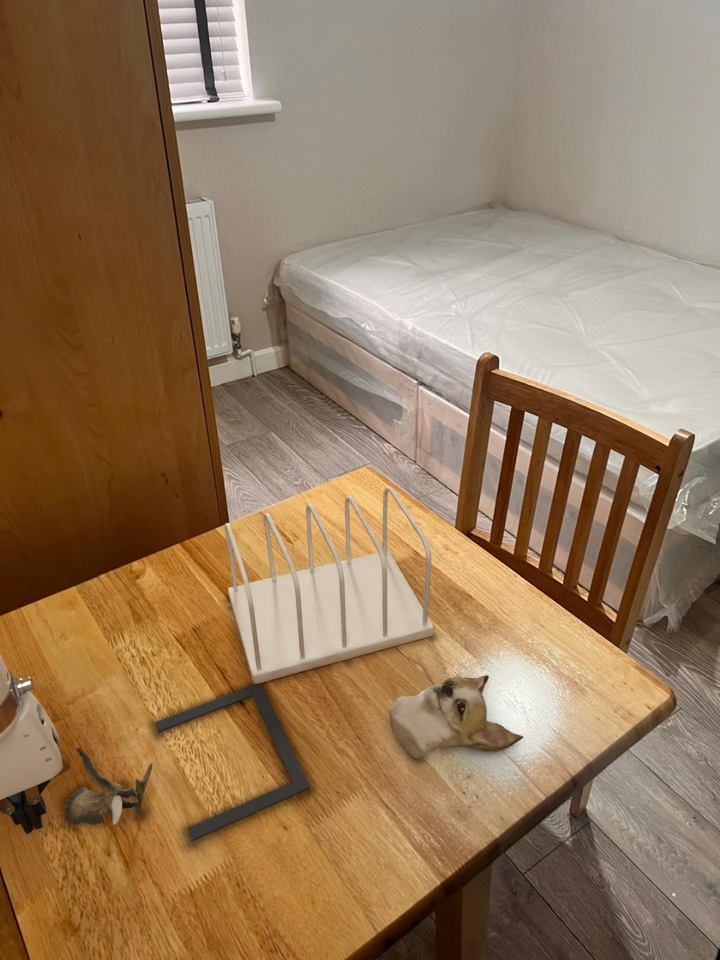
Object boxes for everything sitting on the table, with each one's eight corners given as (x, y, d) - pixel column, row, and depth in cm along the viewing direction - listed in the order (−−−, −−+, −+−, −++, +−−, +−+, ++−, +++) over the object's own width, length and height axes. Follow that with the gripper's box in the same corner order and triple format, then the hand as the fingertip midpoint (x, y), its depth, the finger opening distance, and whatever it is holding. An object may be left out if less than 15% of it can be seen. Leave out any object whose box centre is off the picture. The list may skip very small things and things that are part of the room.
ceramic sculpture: (375, 665, 84) (492, 639, 88) (371, 713, 89) (482, 687, 93) (407, 741, 76) (534, 709, 80) (401, 789, 81) (521, 757, 85)
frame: (191, 841, 77) (191, 840, 77) (155, 723, 89) (155, 722, 89) (309, 788, 82) (309, 787, 81) (260, 683, 94) (260, 681, 94)
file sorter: (253, 686, 93) (239, 596, 84) (228, 598, 107) (214, 512, 98) (434, 636, 99) (438, 547, 91) (388, 559, 113) (388, 475, 104)
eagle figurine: (161, 762, 83) (85, 744, 84) (147, 763, 77) (64, 743, 77) (139, 835, 81) (61, 816, 81) (123, 842, 74) (37, 821, 74)
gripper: (54, 650, 71) (100, 761, 82) (-117, 709, 66) (-45, 820, 77) (64, 706, 66) (112, 818, 76) (-122, 775, 61) (-43, 885, 71)
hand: (33, 819), depth 76 cm, fingers closed
